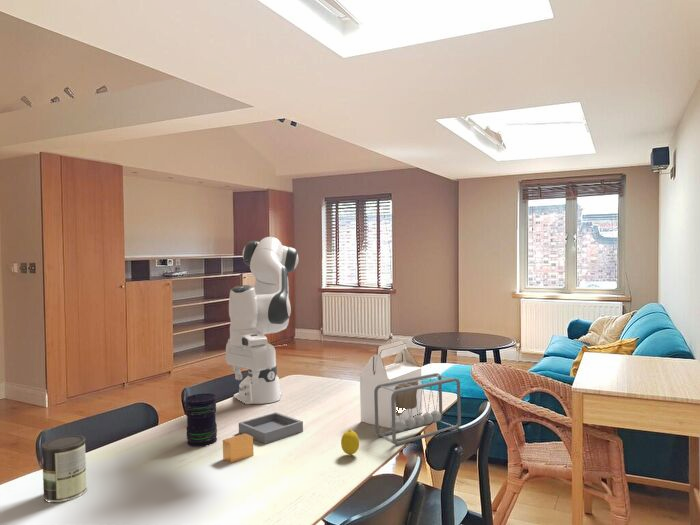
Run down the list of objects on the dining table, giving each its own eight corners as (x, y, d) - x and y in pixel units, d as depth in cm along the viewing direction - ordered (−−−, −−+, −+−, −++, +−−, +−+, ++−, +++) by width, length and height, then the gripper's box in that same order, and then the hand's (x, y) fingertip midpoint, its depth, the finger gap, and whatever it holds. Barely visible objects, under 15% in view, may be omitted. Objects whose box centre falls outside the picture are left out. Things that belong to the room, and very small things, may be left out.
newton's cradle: (393, 447, 165) (392, 391, 165) (374, 437, 174) (373, 385, 173) (461, 427, 181) (460, 377, 181) (441, 420, 190) (439, 371, 190)
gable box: (389, 429, 182) (387, 349, 181) (360, 422, 190) (358, 346, 190) (422, 412, 199) (420, 340, 199) (394, 407, 207) (392, 337, 207)
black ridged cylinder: (223, 438, 177) (222, 395, 176) (203, 448, 168) (202, 402, 168) (200, 434, 181) (199, 392, 181) (180, 444, 172) (178, 400, 172)
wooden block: (223, 459, 159) (222, 440, 159) (245, 451, 164) (244, 433, 164) (231, 463, 156) (230, 443, 155) (253, 455, 161) (252, 436, 161)
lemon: (361, 453, 160) (361, 427, 160) (356, 460, 155) (355, 433, 155) (345, 451, 162) (344, 426, 162) (338, 458, 157) (338, 432, 157)
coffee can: (35, 504, 132) (33, 449, 132) (54, 486, 143) (52, 435, 142) (77, 501, 133) (75, 447, 133) (93, 484, 144) (91, 433, 143)
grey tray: (238, 432, 182) (238, 422, 182) (276, 421, 193) (275, 412, 193) (265, 443, 170) (264, 433, 170) (303, 431, 182) (302, 421, 182)
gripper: (219, 336, 168) (221, 379, 168) (252, 341, 153) (254, 388, 153) (237, 334, 172) (239, 375, 172) (270, 338, 157) (272, 384, 157)
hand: (246, 381), depth 162 cm, fingers open, 8 cm apart
